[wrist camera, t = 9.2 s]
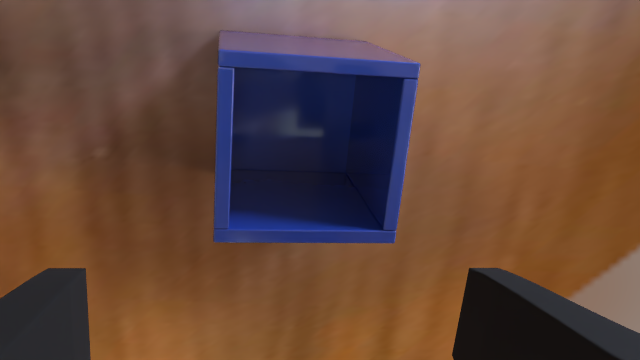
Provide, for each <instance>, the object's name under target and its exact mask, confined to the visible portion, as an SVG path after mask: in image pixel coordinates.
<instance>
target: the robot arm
mask: <svg viewBox="0 0 640 360" xmlns="http://www.w3.org/2000/svg"><path fill="white" fill-rule="evenodd" d="M452 356H453V359H454V360H640V333H637V332H635V331H633V330H631V329H628V328H626V327H624V326H622V325H620V324H618V323H615V322H613V321H611V320H609V319H607V318H605V317H603V316H601V315H598V314H597V313H594V312H592V311H590V310H588V309H586V308H584V307H582V306H580V305H578V304H576V303H574V302H572V301H570V300H568V299H566V298H564V297H562V296H560V295H558V294H556V293H554V292H552V291H550V290H548V289H546V288H543V287H541V286H539V285H537V284H535V283H533V282H531V281H529V280H526V279H524V278H522V277H520V276H518V275H515V274H513V273H510V272H508V271H505V270H502V269H499V268H469V272H468V277H467V282H466V287H465V292H464V297H463V302H462V307H461V312H460V317H459V322H458V328H457V333H456V338H455V343H454V348H453V353H452ZM0 360H90V341H89V322H88V303H87V284H86V268H48V269H47V270H45V271H43V272H41V273H39V274H38V275H36V276H34V277H33V278H31V279H30V280H28V281H26V282H25V283H23V284H22V285H20V286H19V287H17V288H16V289H14V290H13V291H11V292H10V293H8V294H7V295H5V296H4V297H2V298H1V299H0Z"/></svg>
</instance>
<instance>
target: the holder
mask: <svg viewBox="0 0 640 360" xmlns="http://www.w3.org/2000/svg"><path fill="white" fill-rule="evenodd" d="M419 72H420V63H418V62H415V61H413V60H410V59H408V58H405V57H403V56H401V55H398V54H396V53H393V52H391V51H388V50H386V49H383V48H381V47H378V46H376V45H374V44H371V43H368V42H366V41H356V40H343V39H330V38H316V37H303V36H290V35H277V34H264V33H251V32H238V31H224V30H221V31H220V32H219V44H218V75H217V114H216V153H215V192H214V231H213V241H214V242H235V243H395V237H396V229H397V223H398V216H399V210H400V203H401V196H402V189H403V182H404V175H405V168H406V161H407V154H408V147H409V141H410V134H411V127H412V120H413V113H414V106H415V99H416V92H417V85H418V78H419Z"/></svg>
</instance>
